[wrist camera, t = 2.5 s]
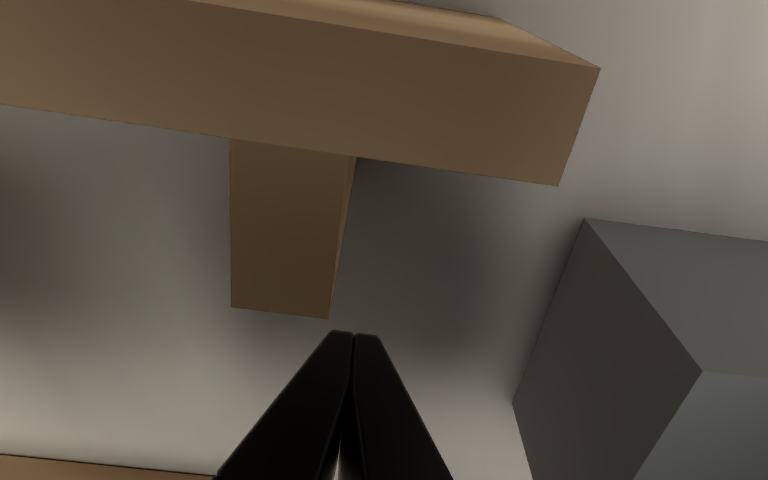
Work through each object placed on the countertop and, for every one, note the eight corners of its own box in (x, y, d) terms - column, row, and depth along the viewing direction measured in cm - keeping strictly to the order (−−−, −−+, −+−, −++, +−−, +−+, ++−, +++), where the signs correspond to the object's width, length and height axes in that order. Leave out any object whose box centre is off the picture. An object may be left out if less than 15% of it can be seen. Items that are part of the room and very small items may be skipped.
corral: (376, 514, 14) (369, 758, 9) (-126, 464, 13) (-376, 707, 9) (498, 18, 7) (650, 90, 3) (-497, -151, 6) (-2235, -379, 2)
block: (709, 420, 12) (843, 611, 8) (510, 399, 11) (563, 587, 8) (831, 247, 9) (1095, 415, 6) (582, 214, 9) (702, 371, 6)
